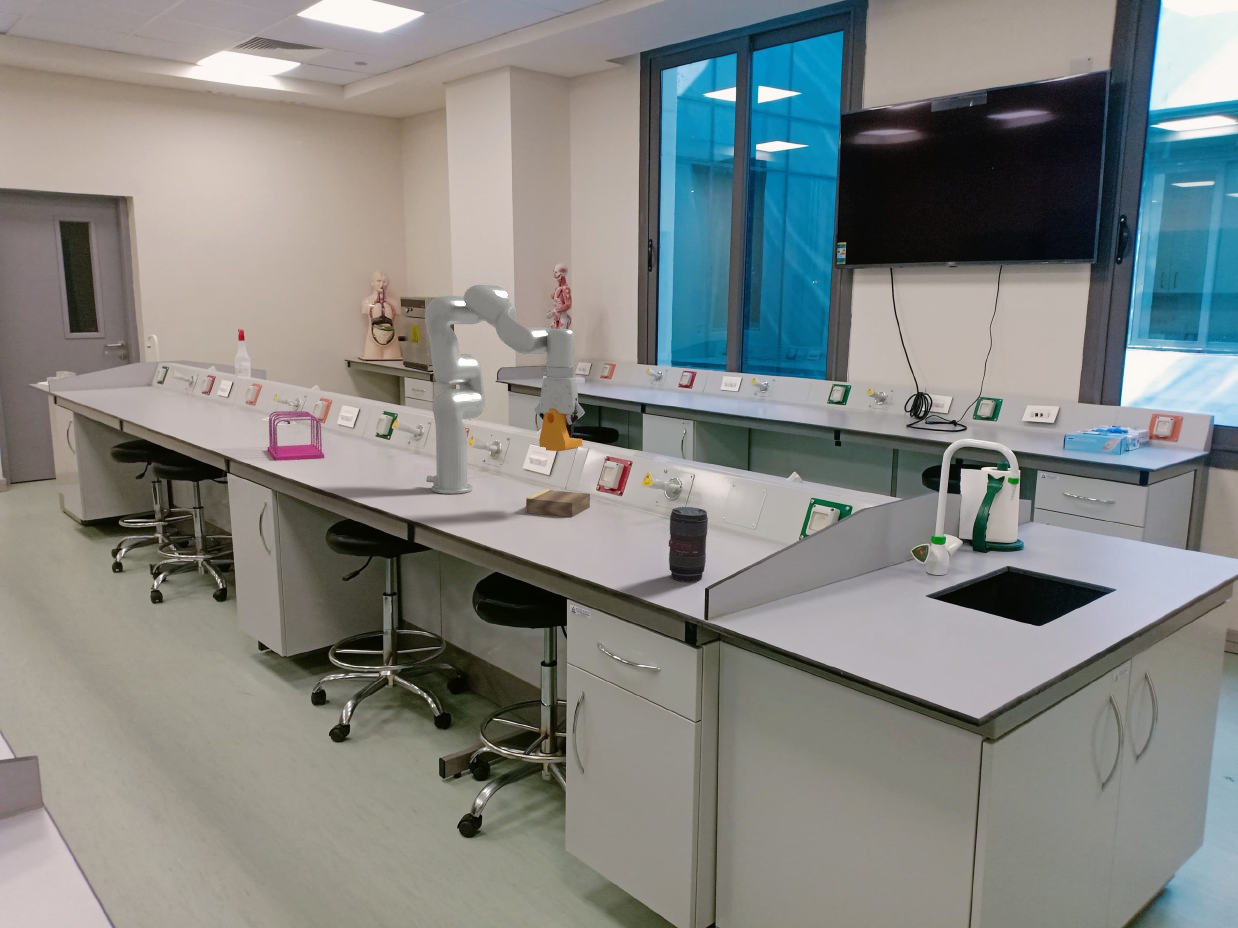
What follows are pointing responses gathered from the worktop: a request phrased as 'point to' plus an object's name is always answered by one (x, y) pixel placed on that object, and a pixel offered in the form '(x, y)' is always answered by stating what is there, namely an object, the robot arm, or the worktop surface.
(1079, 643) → the worktop surface
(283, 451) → the file sorter
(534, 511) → the dock
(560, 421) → the bracket
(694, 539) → the camera lens
